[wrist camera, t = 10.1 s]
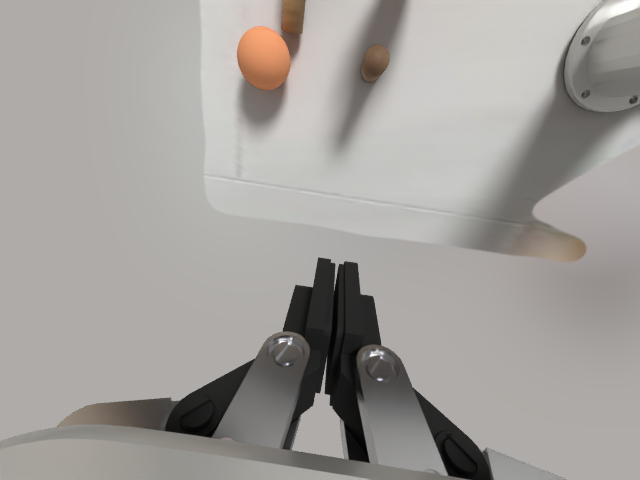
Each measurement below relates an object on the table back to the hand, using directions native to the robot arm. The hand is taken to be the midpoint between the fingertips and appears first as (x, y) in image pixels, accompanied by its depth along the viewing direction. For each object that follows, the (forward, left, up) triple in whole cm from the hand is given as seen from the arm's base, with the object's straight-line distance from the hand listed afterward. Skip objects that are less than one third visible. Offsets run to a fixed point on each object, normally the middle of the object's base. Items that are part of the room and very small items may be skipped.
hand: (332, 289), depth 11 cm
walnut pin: (-2, -12, -29) cm, 32 cm away
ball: (+11, -11, -26) cm, 30 cm away
